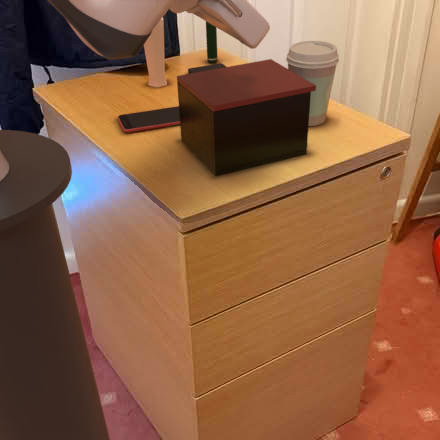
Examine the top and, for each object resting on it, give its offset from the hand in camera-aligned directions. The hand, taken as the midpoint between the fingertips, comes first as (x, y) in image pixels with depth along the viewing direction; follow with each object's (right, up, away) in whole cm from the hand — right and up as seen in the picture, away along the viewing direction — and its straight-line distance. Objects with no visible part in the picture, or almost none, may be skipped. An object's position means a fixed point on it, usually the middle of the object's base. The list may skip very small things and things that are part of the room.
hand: (251, 42), depth 84 cm
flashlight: (-6, +14, +42) cm, 44 cm away
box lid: (-1, -5, +3) cm, 6 cm away
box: (-1, -13, +9) cm, 16 cm away
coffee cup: (+11, -6, +17) cm, 21 cm away
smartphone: (-15, -6, +18) cm, 24 cm away
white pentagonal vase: (-17, +6, +32) cm, 37 cm away
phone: (-5, +6, +32) cm, 33 cm away
